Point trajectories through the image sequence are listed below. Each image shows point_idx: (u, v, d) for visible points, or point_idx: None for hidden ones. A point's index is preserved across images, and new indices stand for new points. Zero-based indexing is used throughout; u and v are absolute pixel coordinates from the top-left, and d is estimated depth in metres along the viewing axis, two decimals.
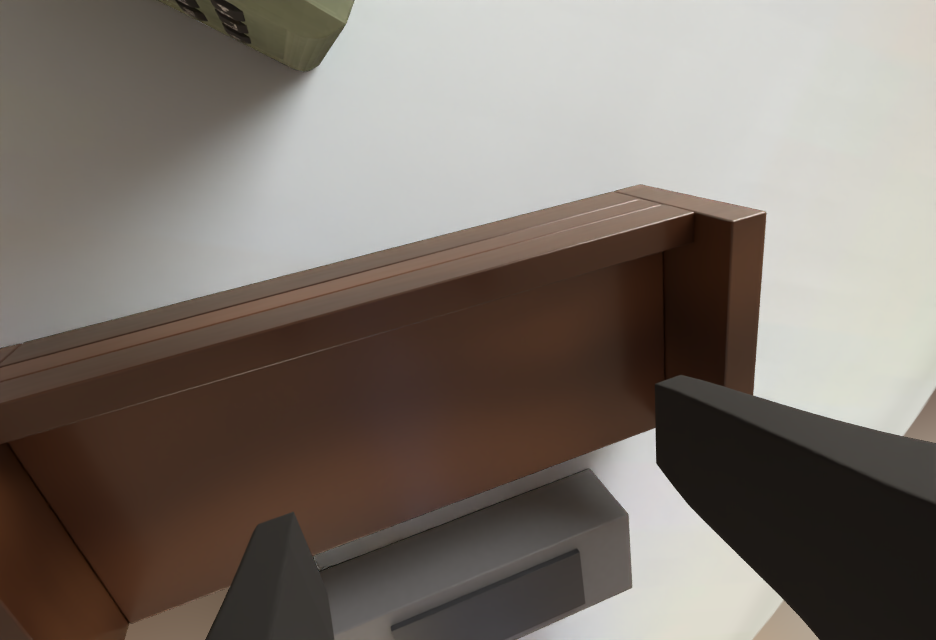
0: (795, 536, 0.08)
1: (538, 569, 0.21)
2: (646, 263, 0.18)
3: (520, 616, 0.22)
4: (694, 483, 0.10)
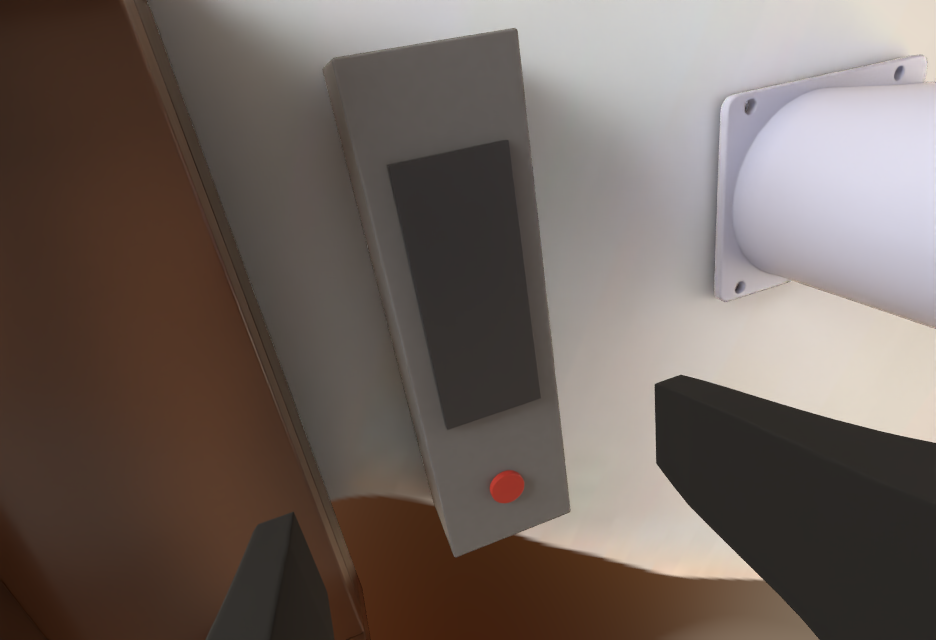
0: (795, 536, 0.08)
1: (406, 237, 0.14)
2: None
3: (490, 258, 0.14)
4: (694, 484, 0.10)
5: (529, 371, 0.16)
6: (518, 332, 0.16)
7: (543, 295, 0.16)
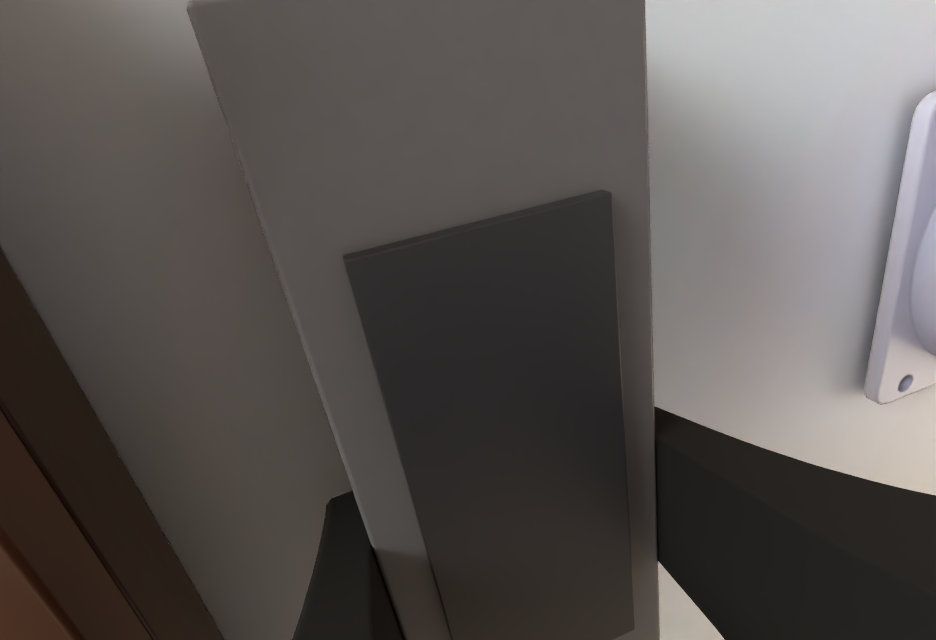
0: (724, 569, 0.08)
1: (390, 402, 0.06)
2: None
3: (560, 424, 0.07)
4: None
5: (619, 594, 0.09)
6: (604, 539, 0.08)
7: (650, 467, 0.08)
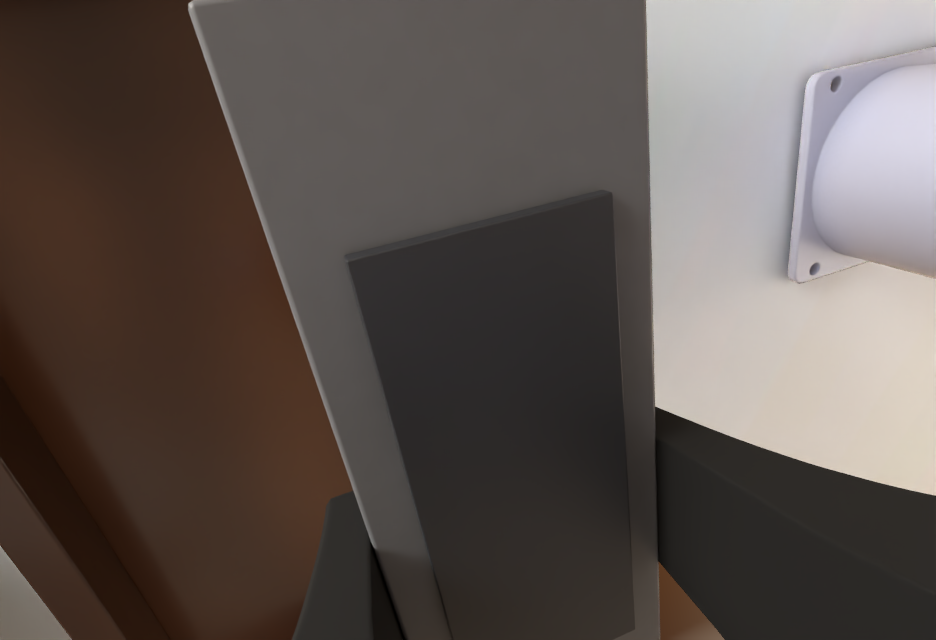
0: (724, 569, 0.08)
1: (391, 402, 0.06)
2: None
3: (561, 423, 0.07)
4: None
5: (620, 594, 0.09)
6: (605, 538, 0.08)
7: (651, 467, 0.08)
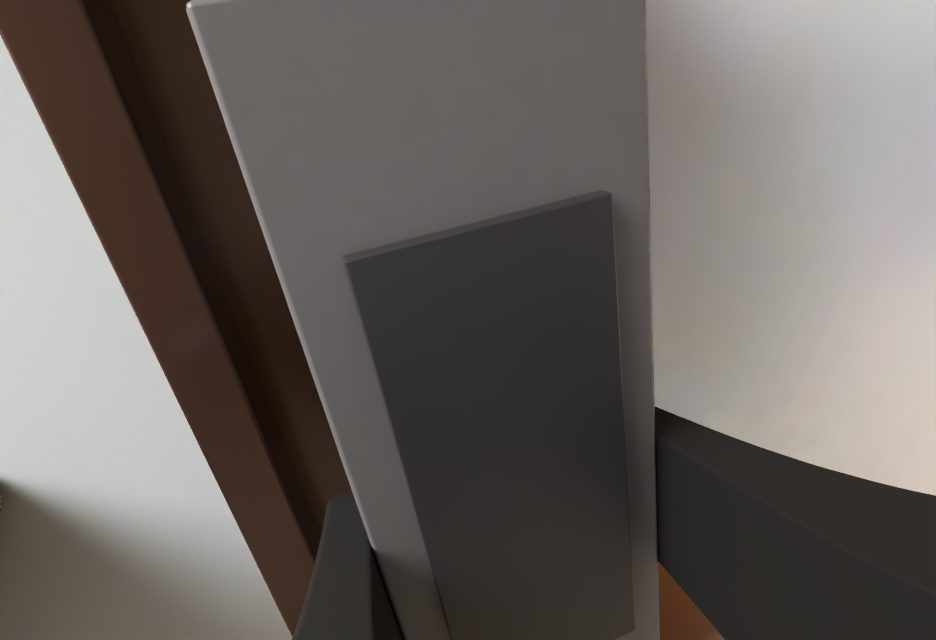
0: (724, 569, 0.08)
1: (390, 403, 0.06)
2: None
3: (560, 424, 0.07)
4: None
5: (619, 595, 0.09)
6: (605, 539, 0.08)
7: (650, 468, 0.08)
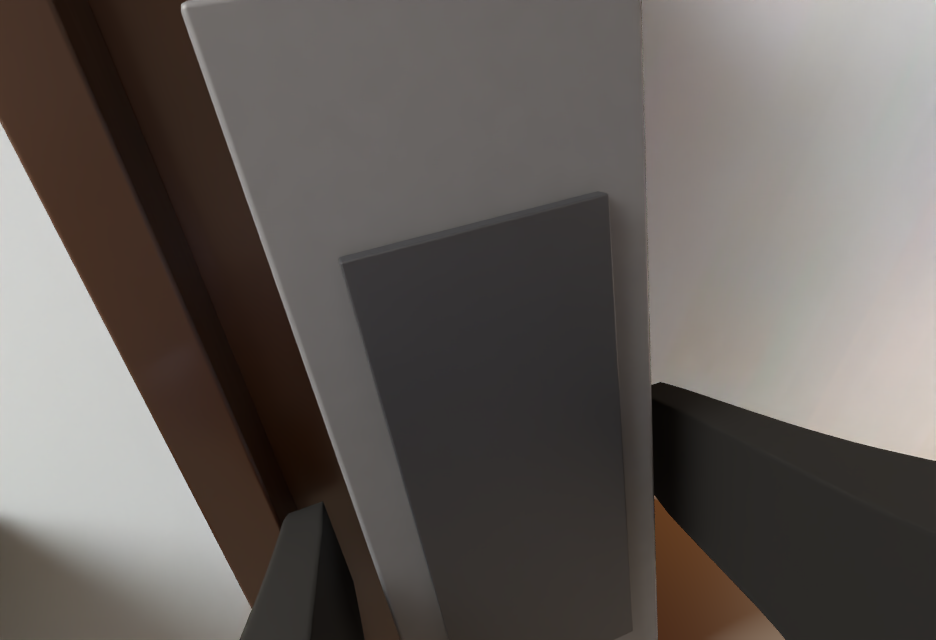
0: (770, 548, 0.08)
1: (386, 404, 0.06)
2: None
3: (557, 425, 0.07)
4: (672, 492, 0.10)
5: (617, 596, 0.09)
6: (602, 540, 0.08)
7: (648, 469, 0.08)
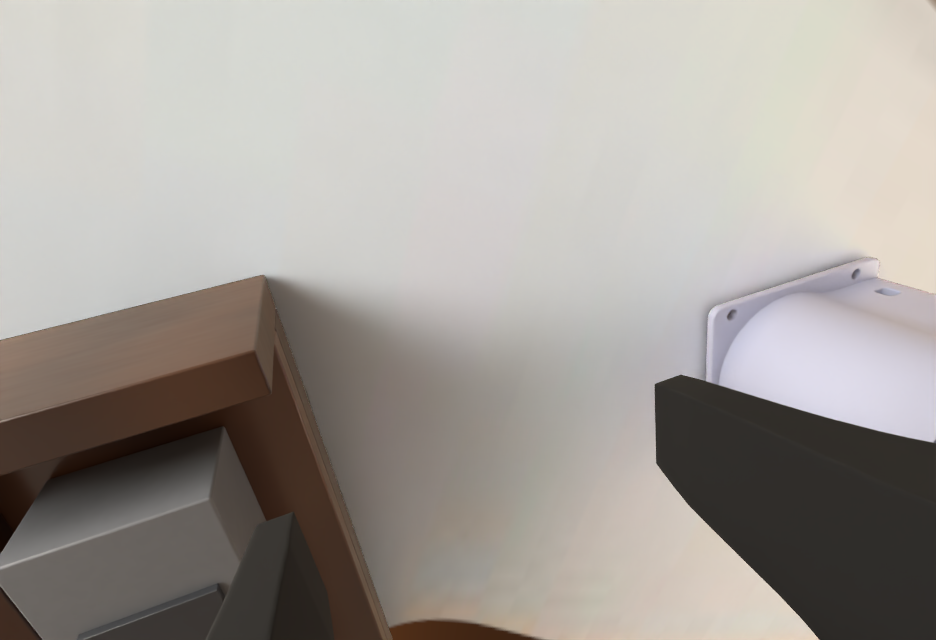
0: (795, 536, 0.08)
1: None
2: None
3: None
4: (693, 483, 0.10)
5: None
6: None
7: None
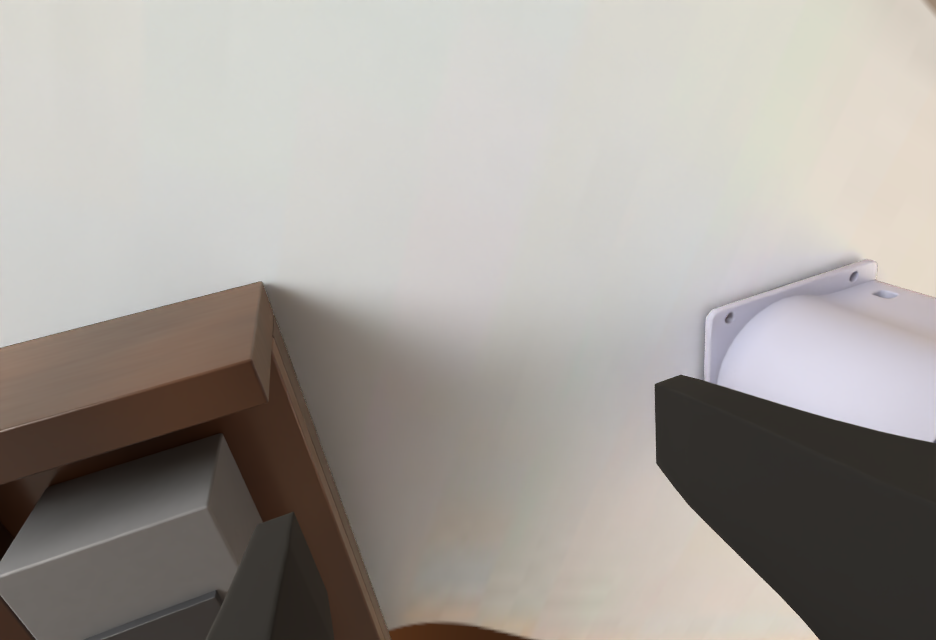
0: (795, 536, 0.08)
1: None
2: None
3: None
4: (693, 484, 0.10)
5: None
6: None
7: None
